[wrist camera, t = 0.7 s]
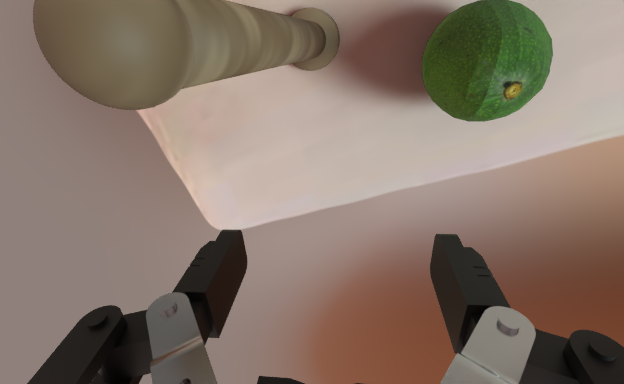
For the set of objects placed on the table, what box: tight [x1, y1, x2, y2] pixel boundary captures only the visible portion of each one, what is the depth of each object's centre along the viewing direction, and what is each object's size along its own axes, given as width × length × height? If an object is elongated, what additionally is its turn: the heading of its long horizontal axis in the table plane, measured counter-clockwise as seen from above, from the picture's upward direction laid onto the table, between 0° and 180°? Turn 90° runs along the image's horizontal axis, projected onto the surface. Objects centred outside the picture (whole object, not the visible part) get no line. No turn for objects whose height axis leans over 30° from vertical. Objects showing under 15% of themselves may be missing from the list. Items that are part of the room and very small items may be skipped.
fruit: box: [422, 0, 553, 121], centre depth 22 cm, size 8×8×12 cm
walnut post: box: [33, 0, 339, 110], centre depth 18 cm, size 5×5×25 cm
